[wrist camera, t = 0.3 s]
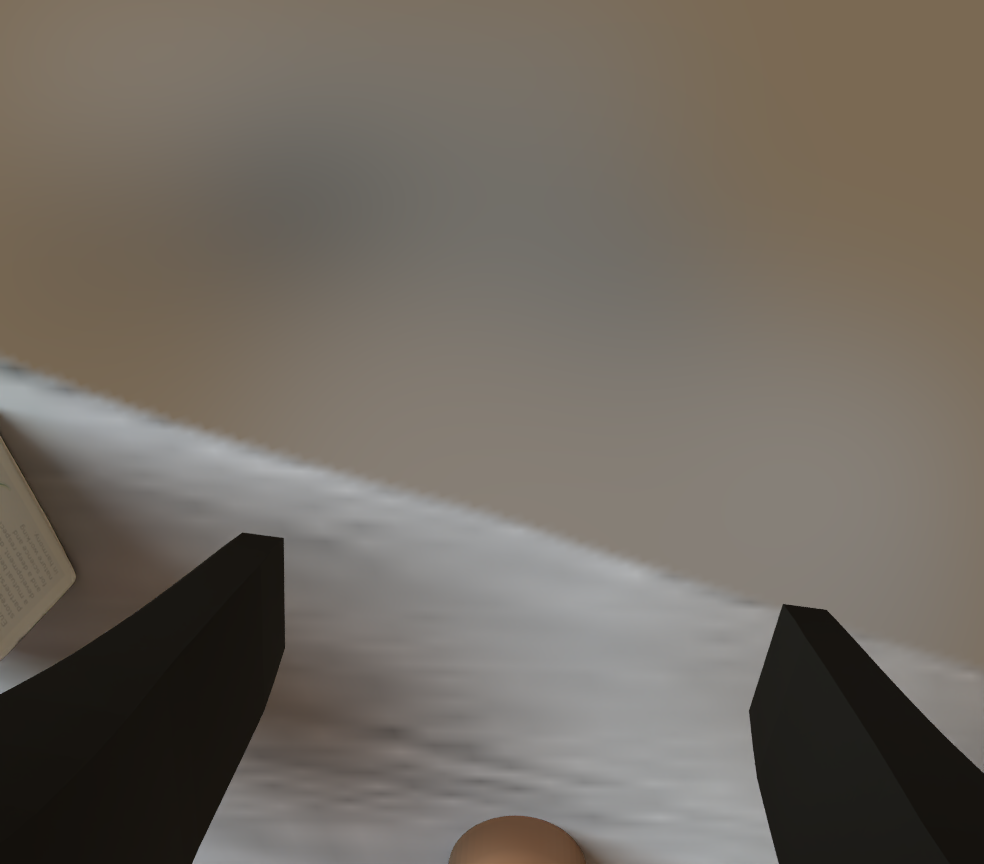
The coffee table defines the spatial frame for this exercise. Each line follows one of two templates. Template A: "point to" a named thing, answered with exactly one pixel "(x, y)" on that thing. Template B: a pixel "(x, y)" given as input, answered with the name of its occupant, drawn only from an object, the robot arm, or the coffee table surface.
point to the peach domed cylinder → (516, 843)
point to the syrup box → (26, 557)
